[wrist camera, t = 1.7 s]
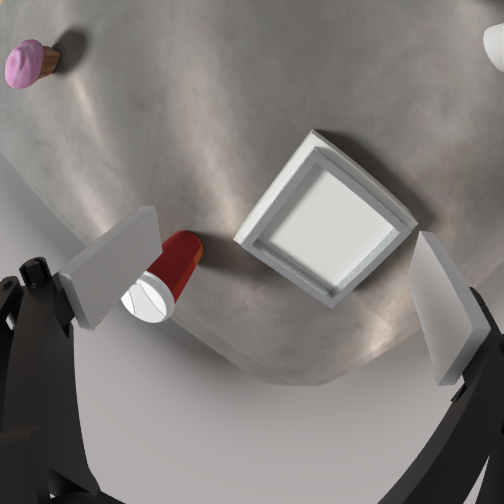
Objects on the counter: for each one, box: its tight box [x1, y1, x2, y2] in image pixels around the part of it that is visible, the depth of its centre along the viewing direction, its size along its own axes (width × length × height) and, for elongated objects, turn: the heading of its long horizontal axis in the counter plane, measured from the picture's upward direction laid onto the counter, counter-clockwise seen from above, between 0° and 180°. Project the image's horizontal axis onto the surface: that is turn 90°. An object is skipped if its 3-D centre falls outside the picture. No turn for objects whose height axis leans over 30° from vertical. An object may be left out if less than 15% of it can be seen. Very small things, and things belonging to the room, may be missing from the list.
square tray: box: [233, 129, 418, 308], centre depth 34 cm, size 16×16×7 cm
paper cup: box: [121, 231, 203, 322], centre depth 39 cm, size 8×8×14 cm
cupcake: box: [5, 39, 60, 89], centre depth 28 cm, size 9×9×10 cm
